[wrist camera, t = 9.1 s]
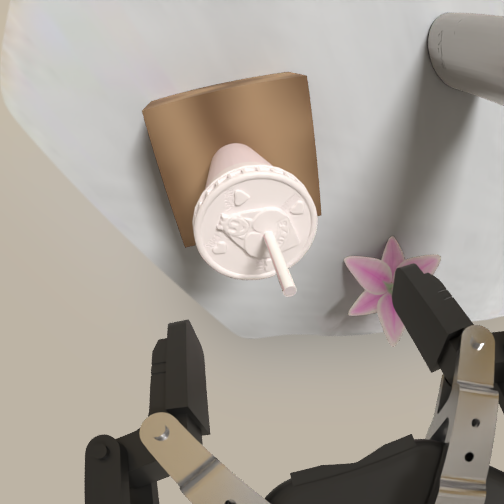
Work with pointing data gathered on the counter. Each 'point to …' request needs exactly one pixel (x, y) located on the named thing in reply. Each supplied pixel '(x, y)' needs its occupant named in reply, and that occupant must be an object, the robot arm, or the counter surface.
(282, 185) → the smoothie
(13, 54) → the counter surface
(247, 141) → the walnut block
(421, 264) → the lily
